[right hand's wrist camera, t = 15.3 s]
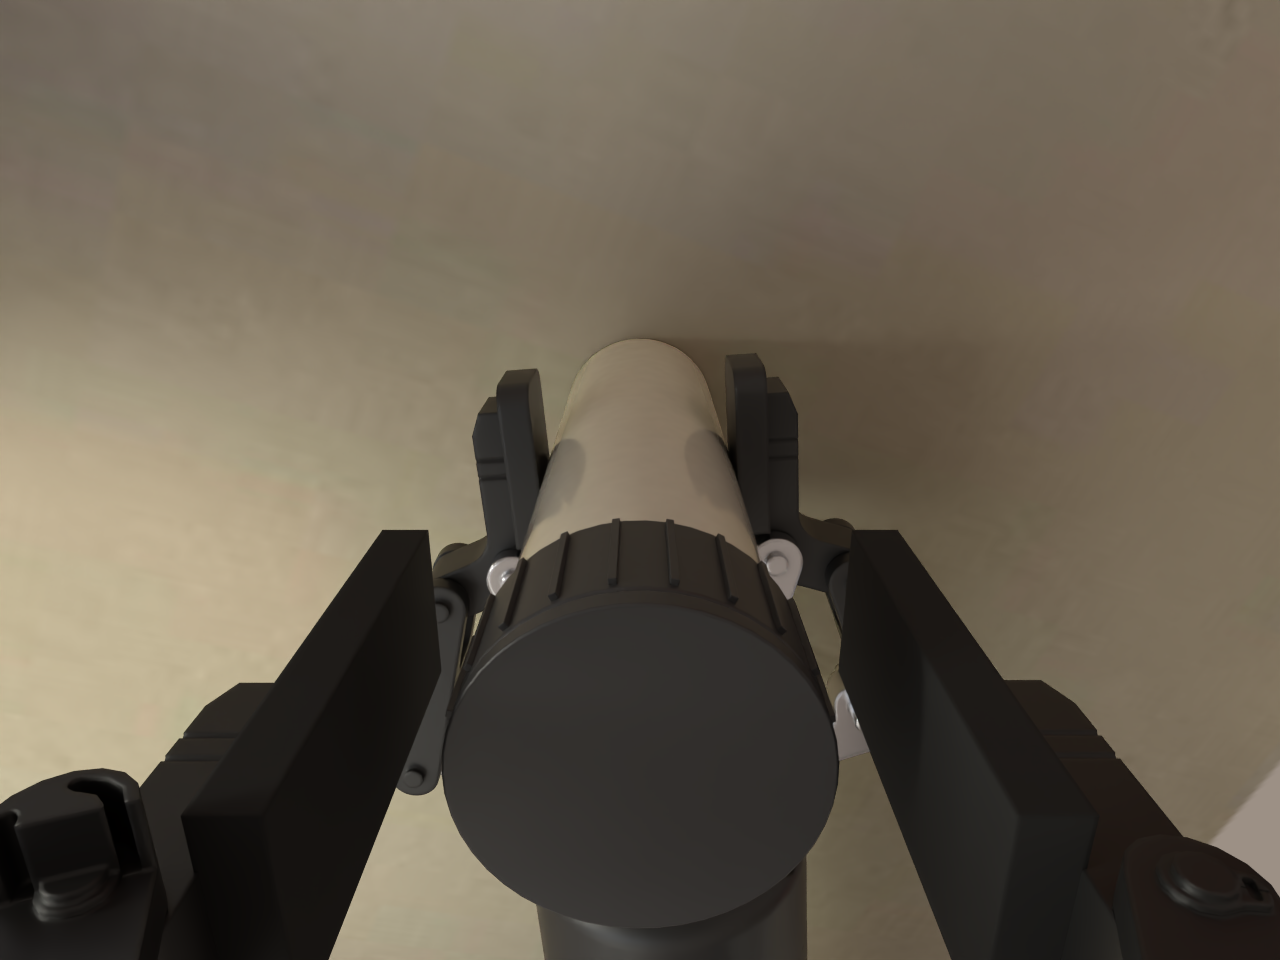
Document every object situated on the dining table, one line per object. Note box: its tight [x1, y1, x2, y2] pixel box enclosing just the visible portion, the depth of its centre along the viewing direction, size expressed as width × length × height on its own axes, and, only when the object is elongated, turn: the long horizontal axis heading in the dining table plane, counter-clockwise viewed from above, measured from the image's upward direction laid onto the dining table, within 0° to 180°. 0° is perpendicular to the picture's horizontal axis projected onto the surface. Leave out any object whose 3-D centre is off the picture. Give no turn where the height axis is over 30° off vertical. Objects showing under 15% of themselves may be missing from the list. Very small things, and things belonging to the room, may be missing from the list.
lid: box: [442, 518, 839, 928], centre depth 11 cm, size 5×5×2 cm
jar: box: [518, 339, 762, 563], centre depth 18 cm, size 4×4×16 cm
